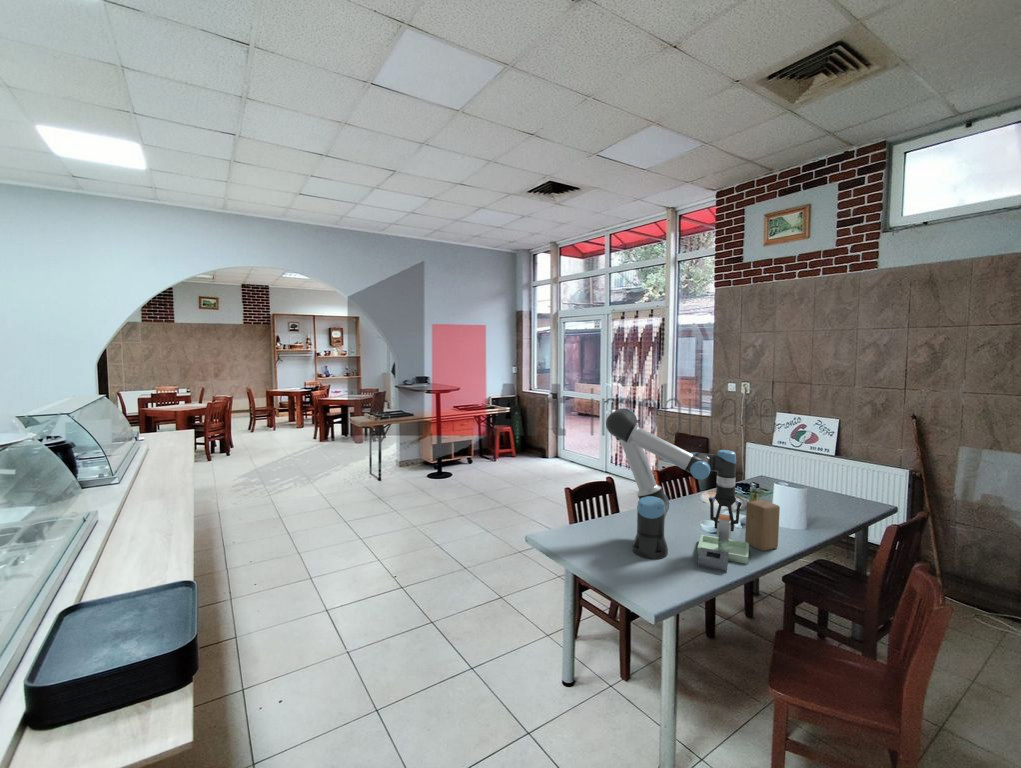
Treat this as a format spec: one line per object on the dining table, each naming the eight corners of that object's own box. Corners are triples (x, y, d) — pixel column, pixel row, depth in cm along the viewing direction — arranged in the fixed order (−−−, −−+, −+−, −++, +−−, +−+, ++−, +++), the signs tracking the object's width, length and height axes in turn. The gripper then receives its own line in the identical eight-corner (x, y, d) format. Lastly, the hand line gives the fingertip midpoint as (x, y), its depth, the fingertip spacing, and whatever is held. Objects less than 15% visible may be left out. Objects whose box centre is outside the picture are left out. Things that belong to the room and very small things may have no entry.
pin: (717, 549, 208) (718, 517, 206) (718, 546, 212) (719, 513, 210) (728, 552, 205) (729, 518, 204) (729, 548, 209) (730, 515, 208)
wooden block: (744, 543, 218) (745, 501, 216) (760, 539, 221) (761, 498, 220) (762, 551, 208) (764, 508, 207) (778, 548, 212) (780, 505, 210)
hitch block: (697, 566, 195) (697, 557, 194) (700, 556, 204) (700, 547, 204) (726, 572, 189) (727, 563, 189) (728, 561, 199) (728, 552, 199)
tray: (697, 554, 206) (697, 547, 206) (701, 540, 220) (701, 534, 220) (748, 564, 197) (748, 557, 197) (748, 549, 211) (748, 542, 211)
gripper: (704, 485, 207) (702, 536, 209) (747, 490, 199) (744, 543, 201) (705, 480, 213) (704, 530, 215) (747, 485, 205) (745, 537, 207)
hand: (723, 536), depth 208 cm, fingers closed on pin, 4 cm apart
